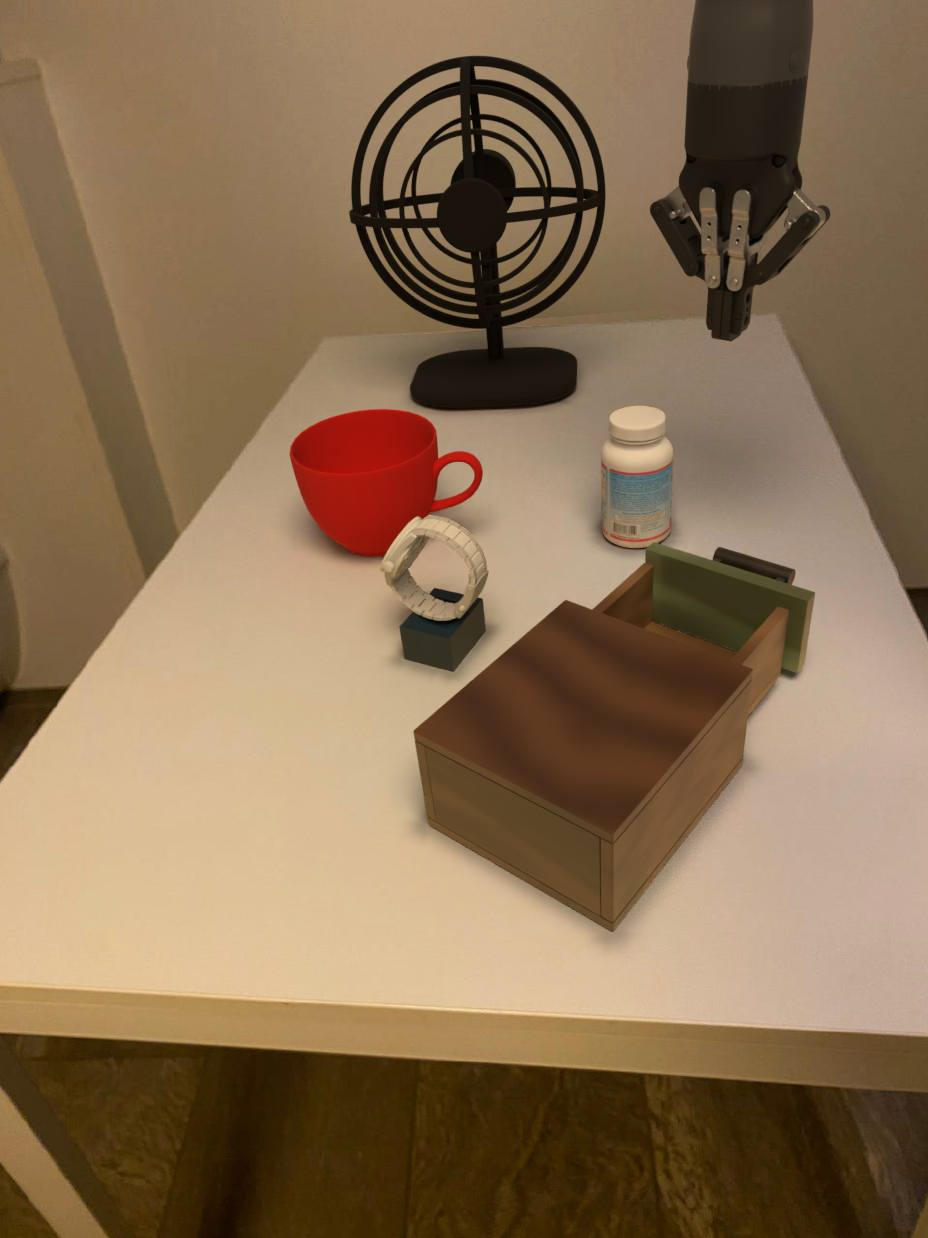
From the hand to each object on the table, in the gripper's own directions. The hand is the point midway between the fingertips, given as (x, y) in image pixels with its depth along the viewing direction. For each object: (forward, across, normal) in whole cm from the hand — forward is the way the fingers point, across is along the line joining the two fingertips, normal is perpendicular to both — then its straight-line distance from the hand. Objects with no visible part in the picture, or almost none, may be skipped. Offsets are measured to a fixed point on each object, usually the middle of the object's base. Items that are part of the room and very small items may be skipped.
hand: (726, 336), depth 72 cm
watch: (+20, +11, +22) cm, 32 cm away
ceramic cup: (+19, +25, +12) cm, 34 cm away
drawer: (+18, -7, +16) cm, 25 cm away
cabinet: (+20, -7, +29) cm, 36 cm away
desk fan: (+18, +39, -20) cm, 48 cm away
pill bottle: (+19, +7, 0) cm, 20 cm away
